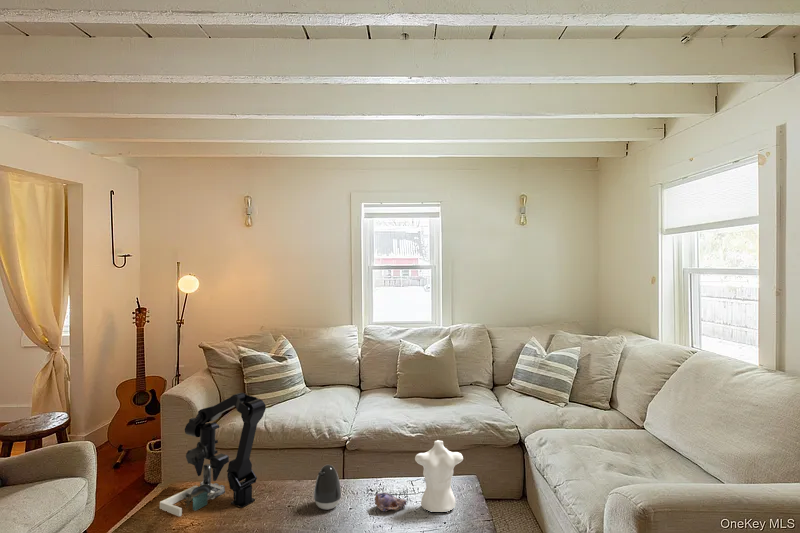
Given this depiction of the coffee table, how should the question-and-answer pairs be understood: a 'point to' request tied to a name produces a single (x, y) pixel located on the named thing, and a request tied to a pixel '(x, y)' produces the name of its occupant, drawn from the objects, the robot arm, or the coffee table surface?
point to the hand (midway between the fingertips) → (207, 478)
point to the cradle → (217, 490)
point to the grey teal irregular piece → (202, 498)
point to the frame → (168, 502)
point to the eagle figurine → (196, 493)
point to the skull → (388, 502)
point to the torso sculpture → (438, 477)
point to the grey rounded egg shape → (327, 488)
